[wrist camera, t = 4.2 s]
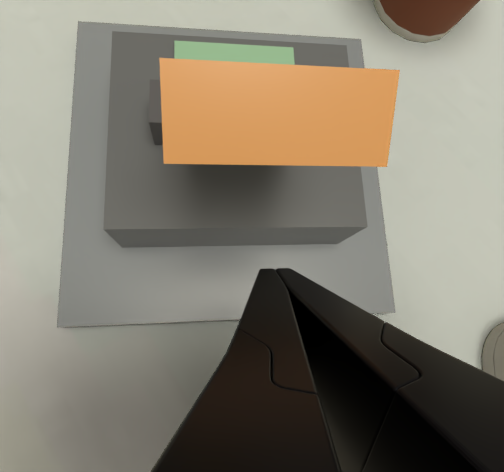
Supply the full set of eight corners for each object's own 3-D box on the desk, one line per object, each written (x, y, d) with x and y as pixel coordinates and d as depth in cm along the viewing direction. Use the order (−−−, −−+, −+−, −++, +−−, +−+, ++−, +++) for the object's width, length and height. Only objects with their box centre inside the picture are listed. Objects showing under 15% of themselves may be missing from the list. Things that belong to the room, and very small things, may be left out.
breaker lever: (295, 144, 18) (387, 166, 9) (180, 142, 17) (163, 163, 9) (298, 95, 17) (399, 70, 9) (179, 90, 17) (159, 57, 8)
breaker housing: (386, 312, 22) (468, 308, 15) (64, 327, 20) (-8, 329, 13) (354, 49, 26) (408, -46, 19) (83, 33, 24) (36, -83, 17)
